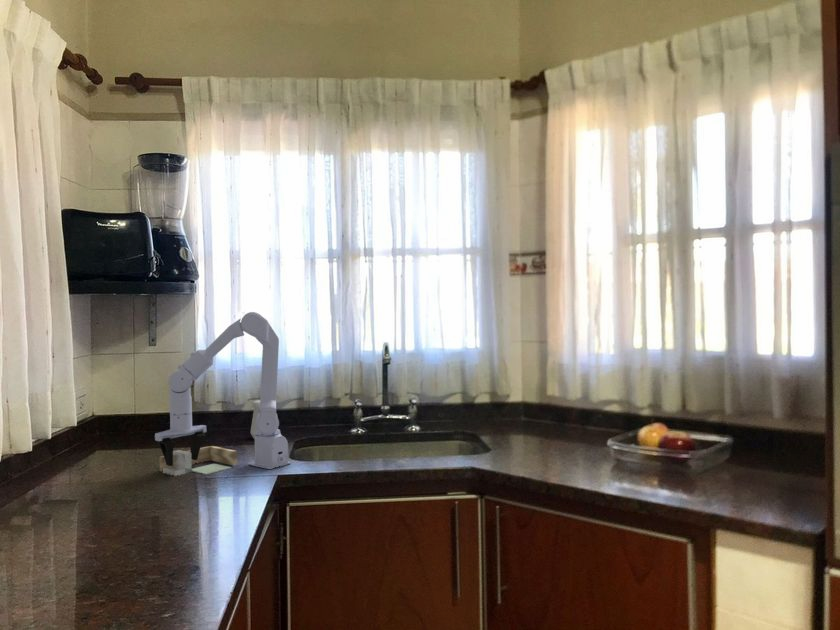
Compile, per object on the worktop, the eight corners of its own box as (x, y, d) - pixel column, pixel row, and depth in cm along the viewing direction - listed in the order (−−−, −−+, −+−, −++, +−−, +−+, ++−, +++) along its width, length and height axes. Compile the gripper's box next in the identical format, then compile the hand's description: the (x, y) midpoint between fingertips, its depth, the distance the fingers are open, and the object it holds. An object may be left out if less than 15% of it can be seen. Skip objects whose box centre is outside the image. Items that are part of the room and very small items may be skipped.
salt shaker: (265, 439, 214) (264, 401, 214) (248, 439, 214) (247, 402, 214) (269, 436, 220) (269, 399, 220) (253, 436, 220) (252, 399, 220)
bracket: (191, 472, 173) (191, 452, 173) (175, 476, 169) (174, 456, 169) (179, 469, 176) (179, 449, 176) (163, 473, 173) (162, 453, 172)
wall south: (237, 464, 180) (237, 450, 180) (233, 465, 179) (233, 451, 179) (212, 459, 187) (212, 445, 187) (209, 459, 186) (208, 446, 186)
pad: (231, 468, 176) (230, 467, 176) (205, 474, 170) (205, 473, 170) (214, 464, 181) (214, 463, 181) (189, 470, 174) (189, 469, 174)
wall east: (212, 459, 186) (211, 446, 186) (162, 471, 174) (161, 457, 174) (209, 459, 187) (209, 445, 187) (159, 471, 174) (159, 456, 174)
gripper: (196, 408, 182) (197, 455, 182) (148, 416, 170) (149, 465, 171) (210, 410, 178) (211, 458, 178) (162, 418, 166) (163, 469, 166)
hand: (182, 462), depth 174 cm, fingers open, 7 cm apart
